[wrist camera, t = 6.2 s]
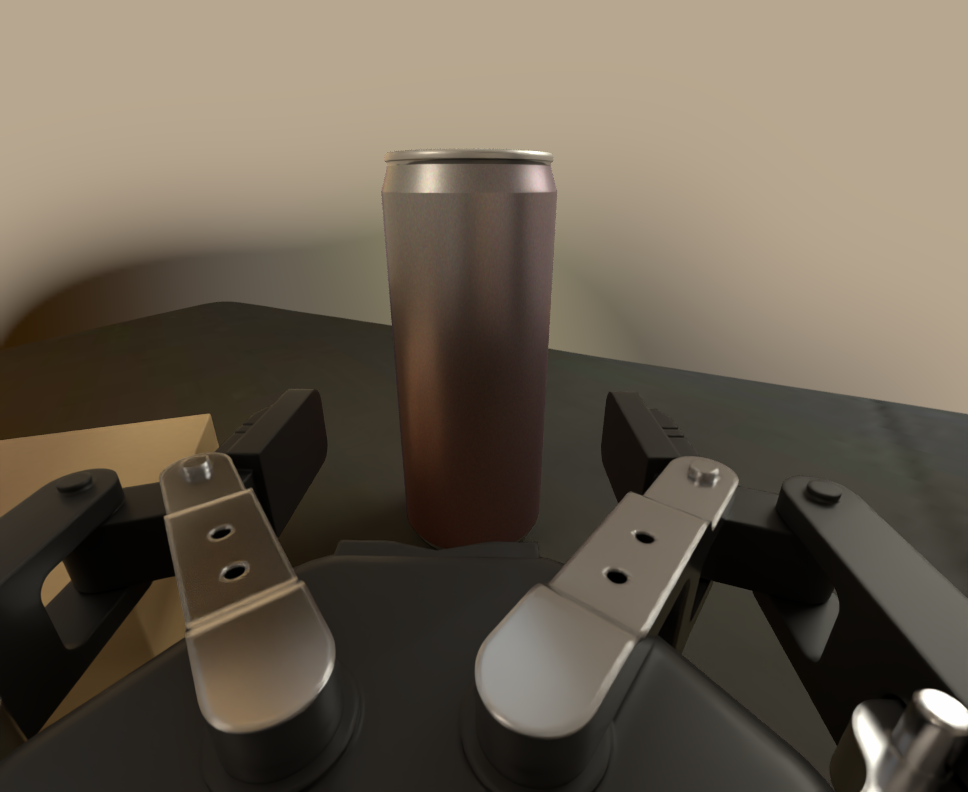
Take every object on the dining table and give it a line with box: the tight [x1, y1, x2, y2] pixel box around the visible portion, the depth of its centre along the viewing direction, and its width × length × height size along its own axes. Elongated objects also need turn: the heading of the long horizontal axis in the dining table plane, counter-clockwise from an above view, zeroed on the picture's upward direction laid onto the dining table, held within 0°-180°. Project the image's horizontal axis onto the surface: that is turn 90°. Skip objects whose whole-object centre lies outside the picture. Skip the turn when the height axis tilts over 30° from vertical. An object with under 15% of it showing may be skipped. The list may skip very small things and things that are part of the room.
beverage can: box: [381, 149, 557, 550], centre depth 19 cm, size 6×6×15 cm
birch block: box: [0, 414, 219, 733], centre depth 16 cm, size 11×11×5 cm
